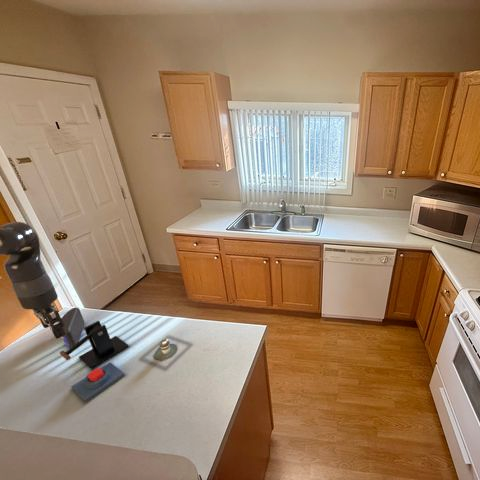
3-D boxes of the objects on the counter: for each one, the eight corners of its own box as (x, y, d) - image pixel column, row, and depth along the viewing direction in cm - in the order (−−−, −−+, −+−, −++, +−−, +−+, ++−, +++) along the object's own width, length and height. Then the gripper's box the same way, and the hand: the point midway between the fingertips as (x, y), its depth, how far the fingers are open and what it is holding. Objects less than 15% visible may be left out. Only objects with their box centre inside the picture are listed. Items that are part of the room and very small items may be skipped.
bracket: (91, 370, 89) (79, 342, 84) (79, 359, 93) (67, 332, 88) (128, 347, 99) (120, 321, 94) (116, 338, 103) (107, 312, 97)
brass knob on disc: (140, 359, 94) (137, 349, 92) (167, 336, 105) (165, 327, 103) (165, 369, 91) (162, 359, 89) (191, 344, 101) (189, 335, 99)
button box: (85, 402, 79) (82, 396, 78) (72, 389, 83) (69, 382, 81) (124, 375, 88) (122, 369, 87) (111, 364, 91) (108, 358, 90)
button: (93, 383, 82) (91, 379, 81) (87, 378, 83) (85, 374, 83) (106, 375, 85) (104, 371, 84) (100, 370, 86) (99, 366, 86)
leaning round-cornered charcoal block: (71, 326, 107) (63, 308, 103) (86, 322, 109) (78, 305, 106) (61, 353, 94) (51, 334, 91) (77, 349, 97) (69, 330, 93)
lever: (69, 361, 84) (63, 358, 83) (62, 355, 86) (57, 351, 85) (105, 331, 92) (101, 328, 91) (98, 326, 94) (94, 323, 93)
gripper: (7, 287, 74) (29, 330, 81) (26, 304, 69) (48, 348, 75) (42, 276, 81) (60, 316, 87) (62, 290, 75) (80, 332, 81)
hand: (54, 331), depth 81 cm, fingers open, 8 cm apart
